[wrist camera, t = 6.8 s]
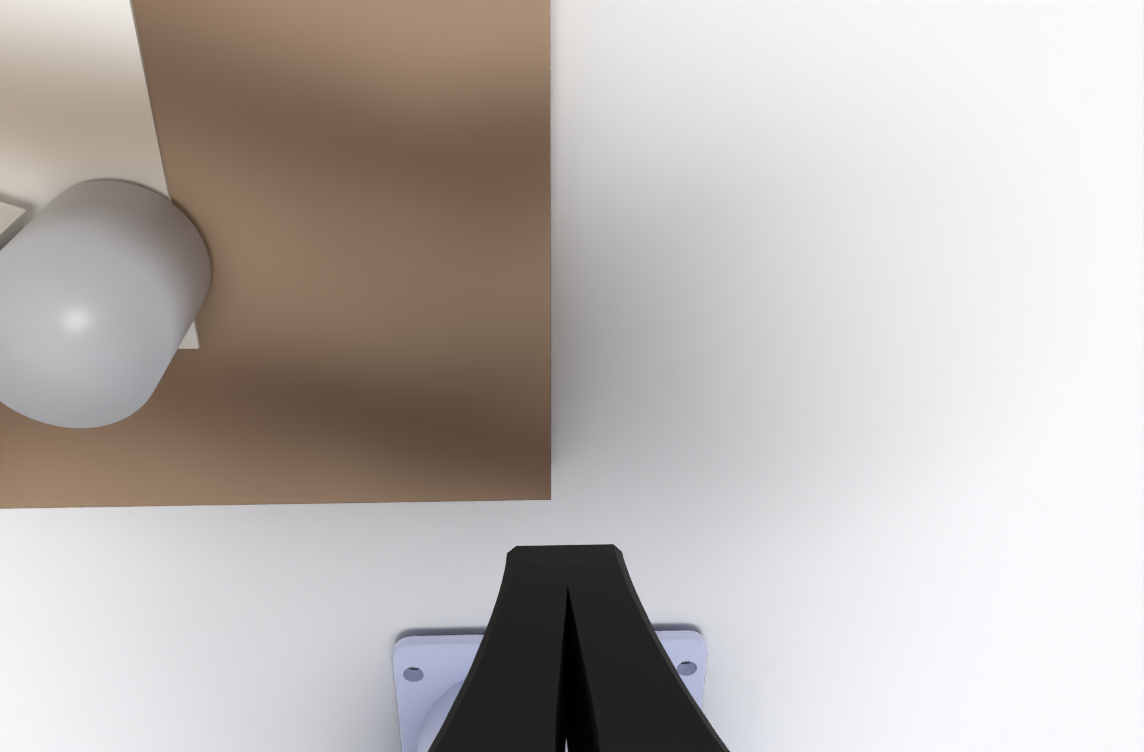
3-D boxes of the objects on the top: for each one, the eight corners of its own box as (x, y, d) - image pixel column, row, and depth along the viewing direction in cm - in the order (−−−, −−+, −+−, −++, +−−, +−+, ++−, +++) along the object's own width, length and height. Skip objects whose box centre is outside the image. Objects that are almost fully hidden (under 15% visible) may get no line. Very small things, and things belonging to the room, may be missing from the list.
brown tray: (549, 467, 25) (551, 505, 23) (-228, 479, 24) (-267, 518, 23) (547, -550, 15) (549, -574, 14) (-727, -576, 15) (-839, -603, 13)
